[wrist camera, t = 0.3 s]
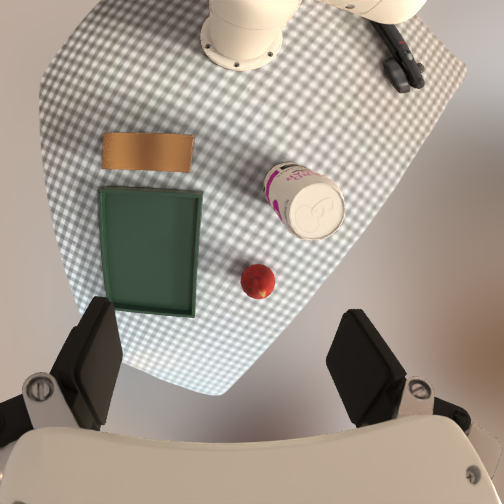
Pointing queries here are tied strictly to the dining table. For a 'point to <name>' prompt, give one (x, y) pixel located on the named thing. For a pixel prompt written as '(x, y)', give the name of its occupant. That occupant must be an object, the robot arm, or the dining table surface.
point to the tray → (150, 248)
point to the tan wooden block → (148, 151)
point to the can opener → (399, 60)
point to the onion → (258, 281)
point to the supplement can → (304, 201)
